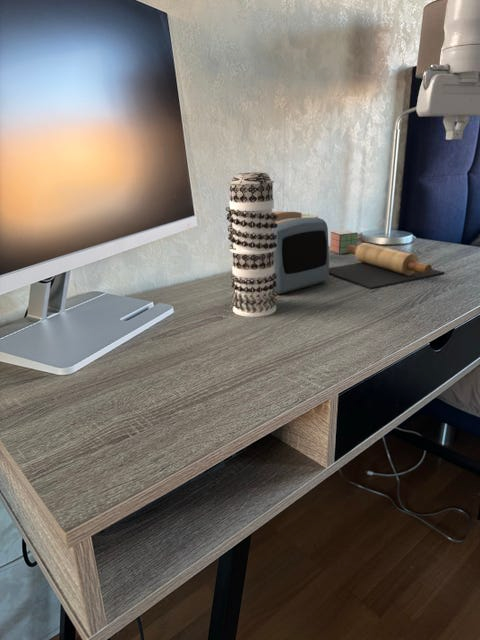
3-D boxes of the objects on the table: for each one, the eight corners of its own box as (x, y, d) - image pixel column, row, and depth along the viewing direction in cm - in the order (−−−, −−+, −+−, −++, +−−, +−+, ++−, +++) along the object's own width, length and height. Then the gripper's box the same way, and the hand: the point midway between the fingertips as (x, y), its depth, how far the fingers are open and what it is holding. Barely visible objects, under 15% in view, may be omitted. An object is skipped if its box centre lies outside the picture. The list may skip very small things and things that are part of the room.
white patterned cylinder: (222, 307, 87) (214, 174, 78) (261, 298, 91) (259, 171, 82) (245, 321, 80) (240, 175, 71) (287, 311, 84) (288, 172, 75)
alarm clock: (277, 298, 92) (277, 219, 86) (232, 281, 104) (229, 212, 98) (332, 282, 100) (335, 210, 95) (285, 269, 113) (284, 205, 107)
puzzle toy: (357, 252, 127) (358, 232, 125) (339, 254, 126) (340, 234, 124) (346, 248, 132) (347, 229, 130) (329, 250, 131) (330, 231, 129)
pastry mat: (388, 259, 119) (388, 257, 118) (444, 273, 103) (444, 272, 103) (320, 271, 110) (320, 269, 110) (370, 289, 95) (370, 287, 95)
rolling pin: (357, 256, 120) (358, 238, 118) (435, 278, 98) (437, 256, 96) (342, 259, 118) (343, 240, 116) (418, 282, 96) (420, 259, 94)
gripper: (438, 60, 83) (430, 140, 88) (510, 65, 91) (498, 137, 96) (412, 66, 88) (406, 141, 93) (482, 70, 96) (473, 138, 101)
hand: (453, 139), depth 95 cm, fingers closed
